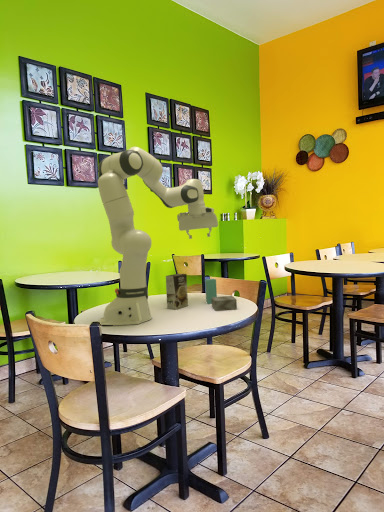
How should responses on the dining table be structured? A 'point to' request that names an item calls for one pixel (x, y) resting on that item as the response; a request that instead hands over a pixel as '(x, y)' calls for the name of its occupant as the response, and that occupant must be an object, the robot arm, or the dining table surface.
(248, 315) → the dining table surface
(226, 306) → the charcoal block
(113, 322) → the robot arm
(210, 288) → the teal pillar
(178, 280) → the coffee box
